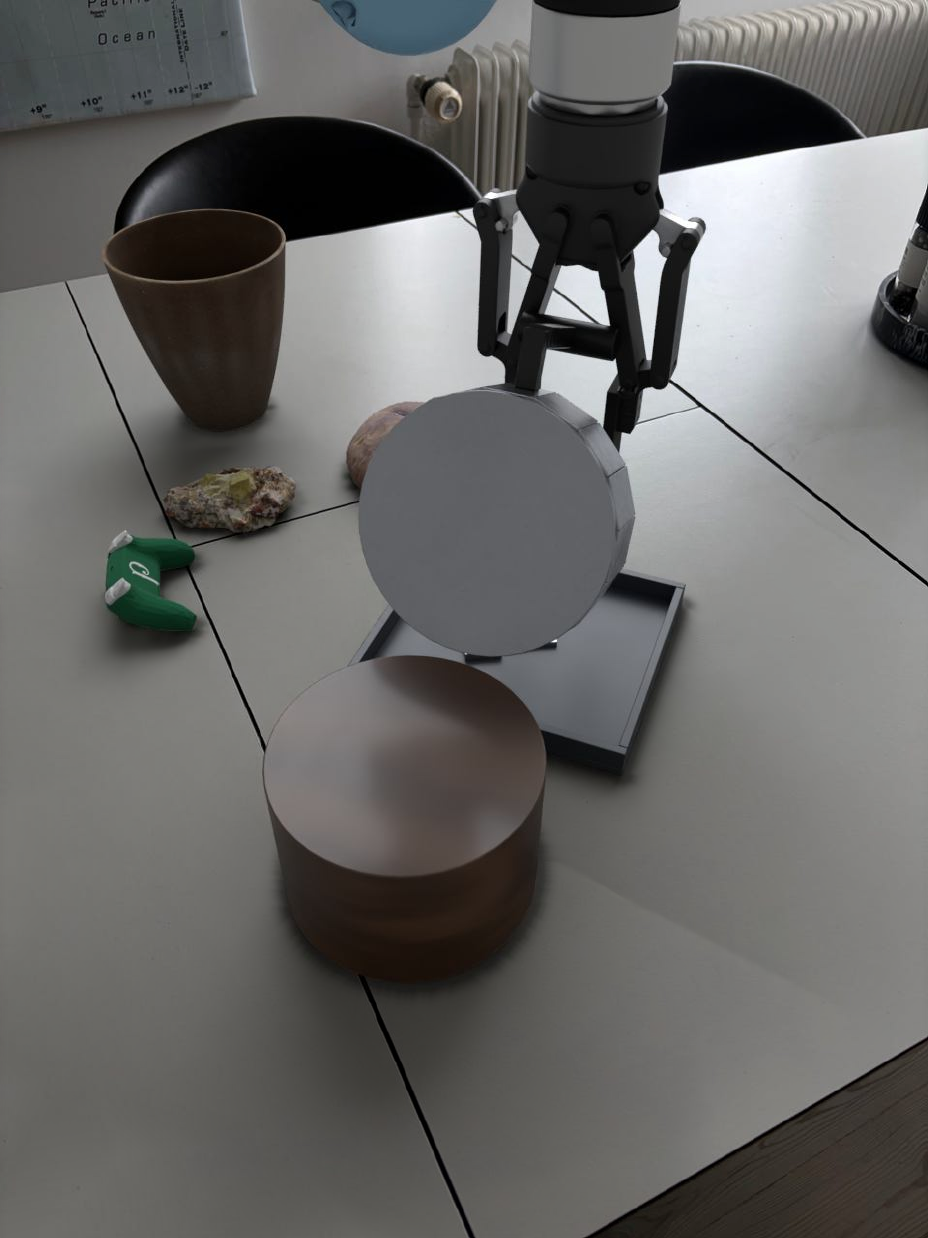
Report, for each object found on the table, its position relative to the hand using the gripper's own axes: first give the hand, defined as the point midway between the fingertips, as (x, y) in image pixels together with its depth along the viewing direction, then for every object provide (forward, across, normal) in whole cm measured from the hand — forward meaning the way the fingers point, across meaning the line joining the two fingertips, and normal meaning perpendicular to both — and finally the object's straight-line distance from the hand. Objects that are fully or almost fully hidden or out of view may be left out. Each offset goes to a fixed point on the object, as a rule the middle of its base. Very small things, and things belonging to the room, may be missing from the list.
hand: (566, 457), depth 69 cm
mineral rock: (+11, +28, +1) cm, 30 cm away
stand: (+11, 0, +28) cm, 30 cm away
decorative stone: (+11, +16, -9) cm, 21 cm away
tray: (+11, 0, +8) cm, 13 cm away
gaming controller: (+11, +27, +14) cm, 32 cm away
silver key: (+10, +1, +9) cm, 13 cm away
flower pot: (+11, +36, -11) cm, 39 cm away
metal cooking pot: (-8, 0, +16) cm, 18 cm away
